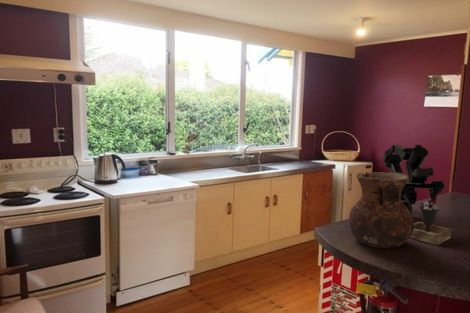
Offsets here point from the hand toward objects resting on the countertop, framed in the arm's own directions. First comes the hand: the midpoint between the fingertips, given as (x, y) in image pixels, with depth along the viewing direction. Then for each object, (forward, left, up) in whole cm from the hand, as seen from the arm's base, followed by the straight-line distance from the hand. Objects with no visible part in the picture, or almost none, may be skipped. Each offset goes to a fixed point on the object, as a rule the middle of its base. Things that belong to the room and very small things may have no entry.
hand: (422, 203), depth 144 cm
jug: (0, -26, -11) cm, 28 cm away
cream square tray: (+6, -5, -11) cm, 13 cm away
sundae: (+6, -5, -10) cm, 13 cm away
